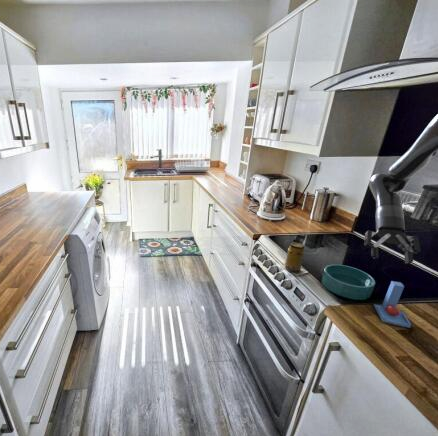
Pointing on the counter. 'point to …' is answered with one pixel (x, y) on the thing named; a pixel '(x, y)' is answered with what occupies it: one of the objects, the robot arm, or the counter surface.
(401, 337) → the counter surface
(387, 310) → the bead
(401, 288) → the blue base with post
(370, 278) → the teal ribbed bowl
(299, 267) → the condiment
